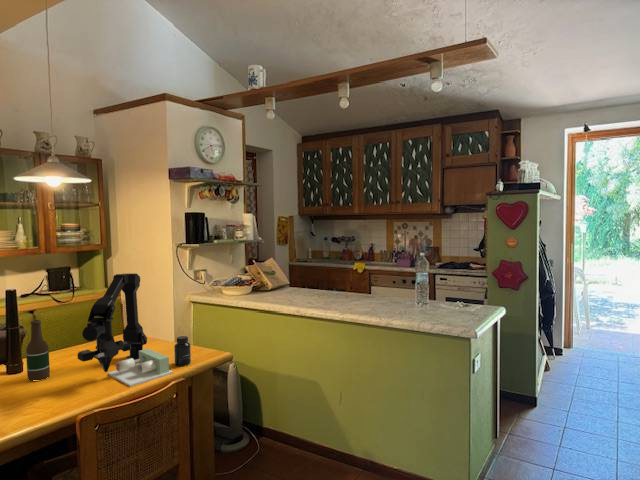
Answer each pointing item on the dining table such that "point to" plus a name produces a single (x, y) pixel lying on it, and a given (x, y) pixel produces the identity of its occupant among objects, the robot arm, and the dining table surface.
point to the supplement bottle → (182, 351)
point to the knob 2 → (147, 366)
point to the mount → (135, 377)
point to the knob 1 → (128, 363)
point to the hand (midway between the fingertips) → (105, 371)
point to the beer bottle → (37, 354)
